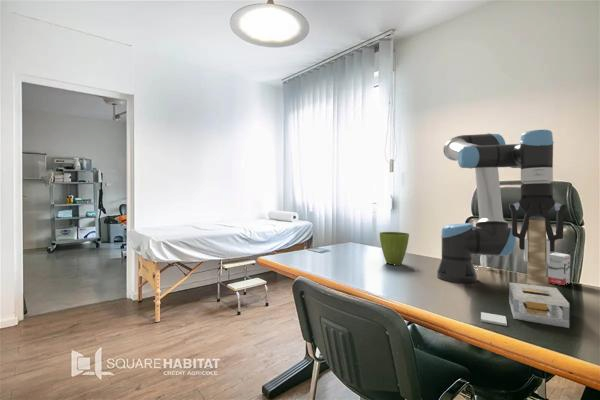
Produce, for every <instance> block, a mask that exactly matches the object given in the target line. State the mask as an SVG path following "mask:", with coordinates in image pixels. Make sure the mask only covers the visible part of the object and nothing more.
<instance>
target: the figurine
mask: <svg viewBox="0 0 600 400" xmlns="http://www.w3.org/2000/svg"><path fill="white" fill-rule="evenodd" d="M491 256H492V255H488V257H490V258H491ZM479 260H480V261H479V262H480V264H479V266H480V267H485V268H490V267H488V259H487V255H480V258H479Z"/></svg>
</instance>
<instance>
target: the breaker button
mask: <svg viewBox="0 0 600 400" xmlns="http://www.w3.org/2000/svg"><path fill="white" fill-rule="evenodd" d="M525 303H526V306H527V307H528V308H534V309H541V310H547V304H543V303H536V302H529V301H525Z"/></svg>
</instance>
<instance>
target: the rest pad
mask: <svg viewBox="0 0 600 400" xmlns="http://www.w3.org/2000/svg"><path fill="white" fill-rule="evenodd" d="M480 322H483V323H489V324H493V325H500V326H505V327H508V322H507V317H506V316H505V315H501V314H495V313H488V312H483V311H480Z"/></svg>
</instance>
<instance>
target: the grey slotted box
mask: <svg viewBox="0 0 600 400" xmlns="http://www.w3.org/2000/svg"><path fill="white" fill-rule="evenodd" d="M508 284H509V285H508V288H509V289H508V293H509V294H508V299H509V300H508V301H509V306H510V307H509V308H510V309H511V310H510V311H511V313H512V318H513V319H514V320H520V321H526V322H532V323H539V324H542V325H550V326H556V327H561V328H567V329H570V302H569V301H568V300H567V299H566V298H565V297H564V295H563V294H562V293H561V292H560V291H559V289H558V288H557V287H553V286H536V285H531V284H528V283H526V284H525V283H518V282H510V281H509V283H508ZM528 292H529V293H528ZM530 292H532V293H530ZM533 293H535V294H533ZM536 293H537V294H536ZM538 293H540V294H538ZM543 294H546V295H543ZM525 301H529V302H536V303H543V304H547V310H541V309H534V308H528V307H527V306H526V303H525Z"/></svg>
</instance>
